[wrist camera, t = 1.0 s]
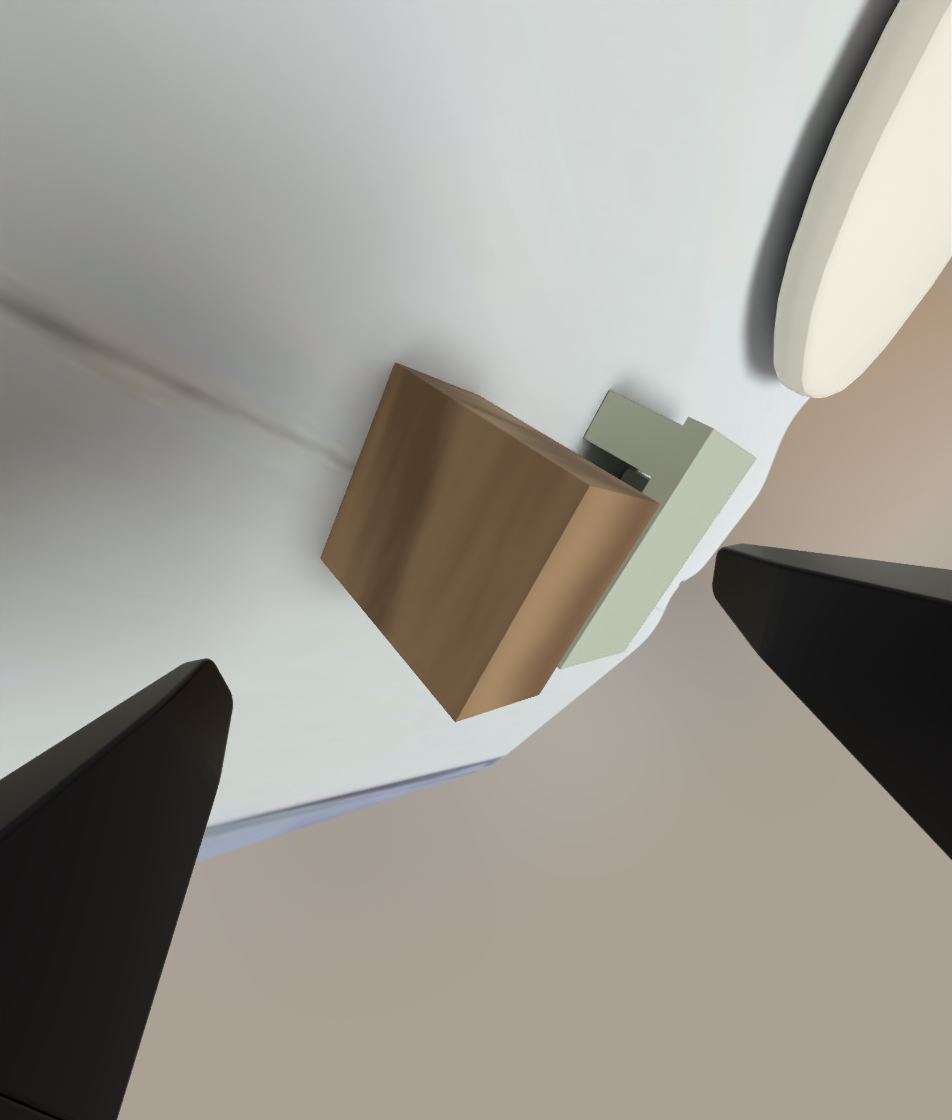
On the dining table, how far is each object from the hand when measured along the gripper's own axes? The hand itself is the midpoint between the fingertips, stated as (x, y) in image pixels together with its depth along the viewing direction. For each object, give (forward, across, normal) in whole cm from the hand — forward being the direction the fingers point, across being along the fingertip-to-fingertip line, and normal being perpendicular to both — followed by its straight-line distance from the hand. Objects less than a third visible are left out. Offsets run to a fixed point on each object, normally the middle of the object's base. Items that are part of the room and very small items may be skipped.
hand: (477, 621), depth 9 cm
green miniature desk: (+23, +10, -12) cm, 28 cm away
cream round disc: (+32, +34, +5) cm, 47 cm away
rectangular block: (+17, +2, -5) cm, 18 cm away
